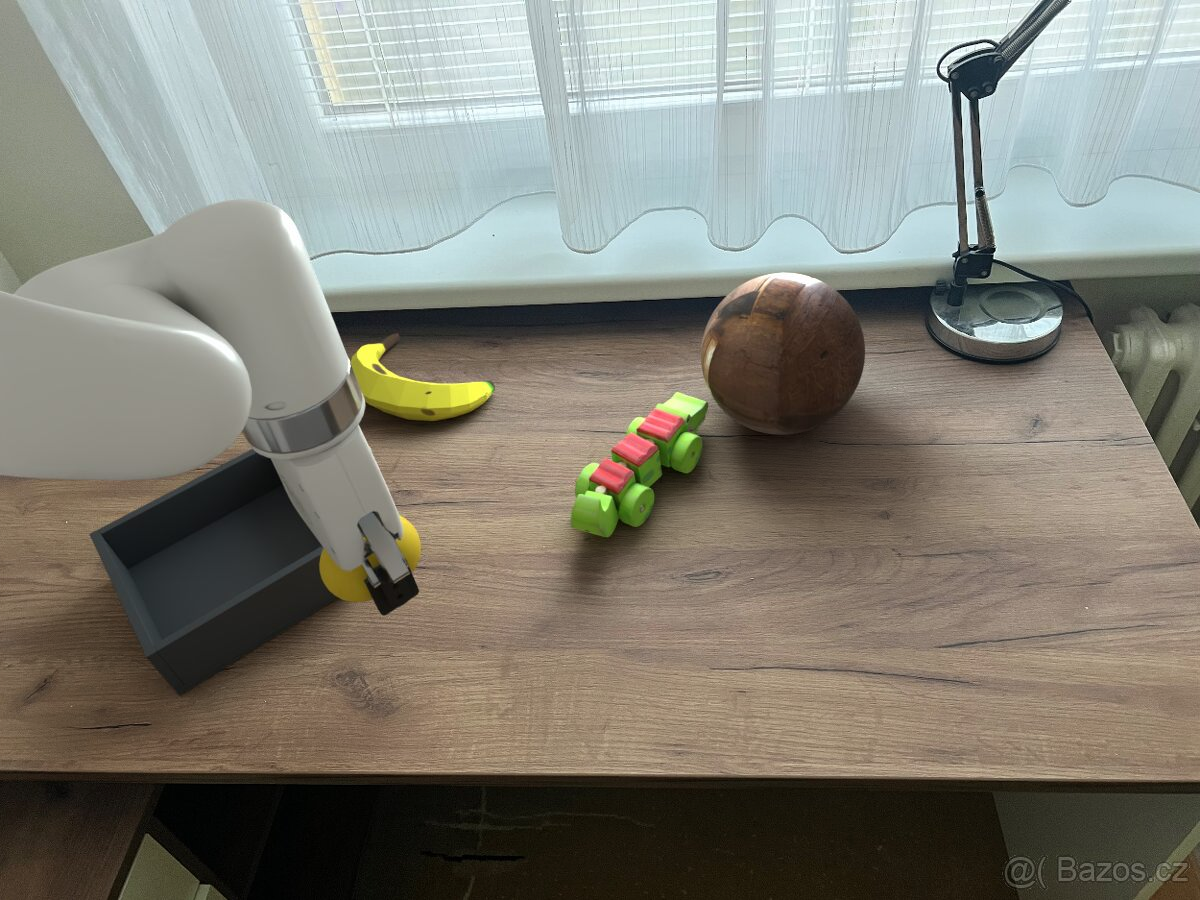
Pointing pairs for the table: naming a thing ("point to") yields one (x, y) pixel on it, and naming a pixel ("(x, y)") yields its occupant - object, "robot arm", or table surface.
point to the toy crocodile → (638, 466)
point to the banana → (412, 389)
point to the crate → (214, 569)
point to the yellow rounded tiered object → (352, 582)
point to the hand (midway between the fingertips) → (379, 575)
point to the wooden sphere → (782, 353)
